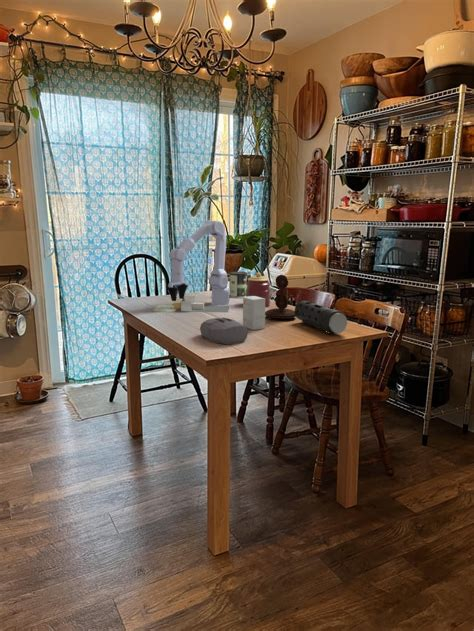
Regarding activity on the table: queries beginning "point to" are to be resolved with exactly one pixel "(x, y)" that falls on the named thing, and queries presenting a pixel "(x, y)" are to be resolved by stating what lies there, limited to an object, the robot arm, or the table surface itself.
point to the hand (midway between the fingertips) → (177, 299)
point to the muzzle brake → (321, 317)
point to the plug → (195, 305)
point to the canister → (259, 287)
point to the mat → (206, 309)
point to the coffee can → (238, 284)
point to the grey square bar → (187, 303)
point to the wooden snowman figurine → (281, 301)
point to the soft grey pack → (223, 331)
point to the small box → (254, 312)
